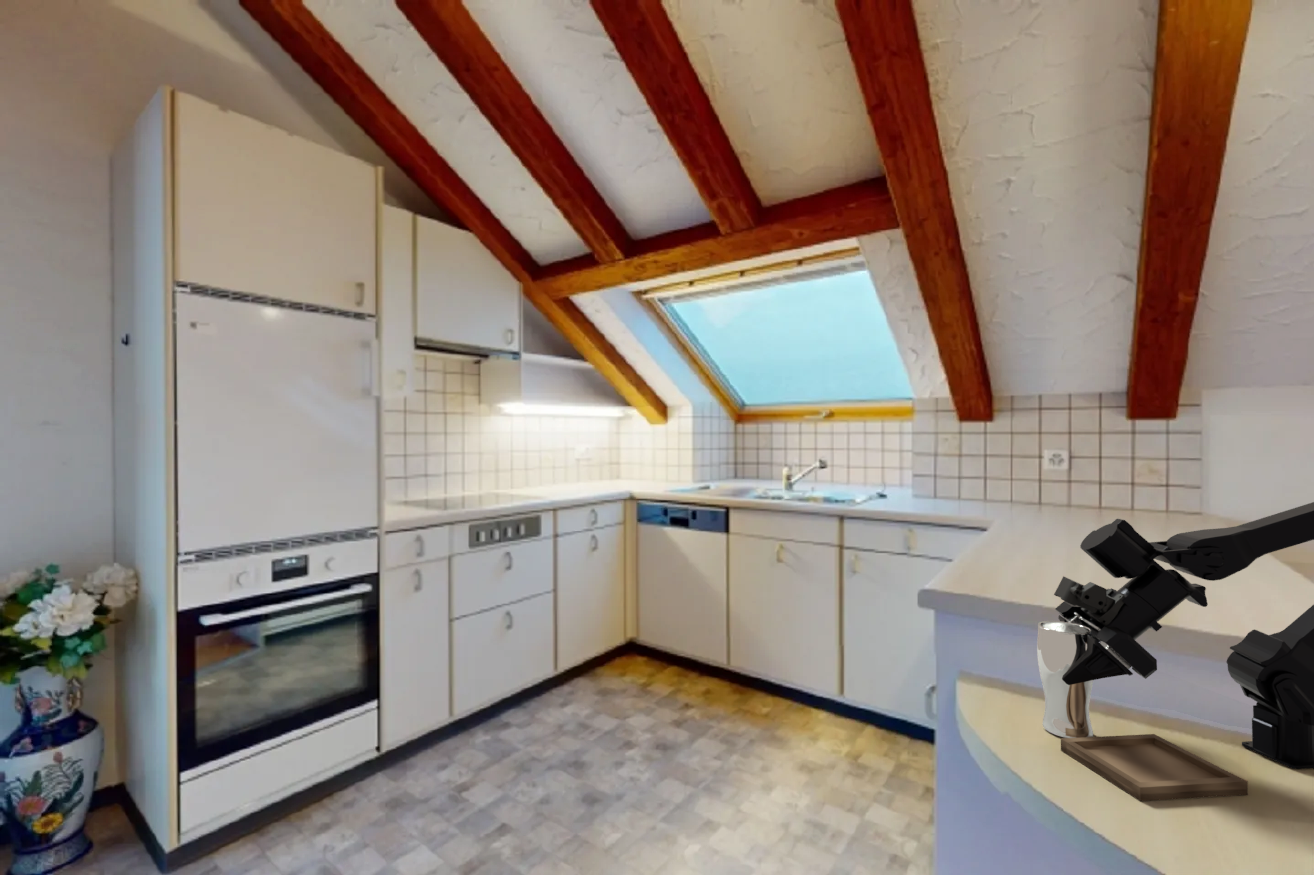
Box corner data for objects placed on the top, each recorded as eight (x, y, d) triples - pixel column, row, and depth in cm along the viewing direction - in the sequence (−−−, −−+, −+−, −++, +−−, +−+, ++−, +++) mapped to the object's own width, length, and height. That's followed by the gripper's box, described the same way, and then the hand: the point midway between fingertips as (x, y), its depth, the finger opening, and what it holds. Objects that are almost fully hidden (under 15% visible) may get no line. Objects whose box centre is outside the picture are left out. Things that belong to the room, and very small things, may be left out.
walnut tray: (1154, 745, 83) (1154, 733, 83) (1247, 794, 71) (1247, 781, 71) (1060, 750, 82) (1060, 738, 82) (1140, 801, 70) (1140, 787, 70)
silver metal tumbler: (1107, 744, 83) (1103, 635, 83) (1051, 739, 84) (1048, 632, 85) (1082, 721, 90) (1079, 621, 90) (1031, 718, 91) (1028, 619, 92)
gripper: (1068, 550, 96) (993, 615, 98) (1126, 572, 78) (1032, 651, 80) (1127, 602, 93) (1049, 667, 96) (1201, 638, 75) (1101, 717, 78)
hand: (1055, 673), depth 88 cm, fingers closed on silver metal tumbler, 7 cm apart
